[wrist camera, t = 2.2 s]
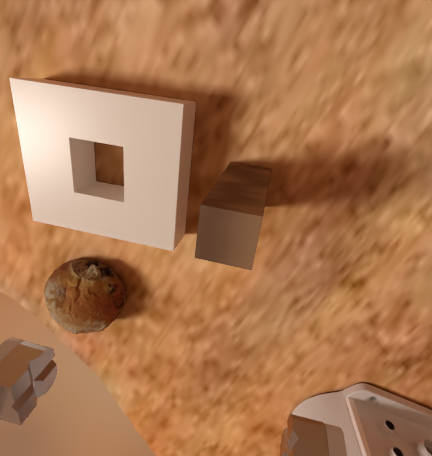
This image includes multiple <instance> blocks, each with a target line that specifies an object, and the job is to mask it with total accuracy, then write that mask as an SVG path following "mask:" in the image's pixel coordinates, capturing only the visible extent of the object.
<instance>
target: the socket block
mask: <svg viewBox="0 0 432 456" xmlns="http://www.w3.org/2000/svg"><path fill="white" fill-rule="evenodd" d="M10 84H11V90H12V96H13V102H14V108H15V114H16V120H17V126H18V132H19V138H20V144H21V150H22V156H23V162H24V168H25V174H26V180H27V186H28V192H29V198H30V204H31V210H32V216H33V221H38V222H42V223H47V224H51V225H56V226H61V227H65V228H70V229H74V230H79V231H83V232H88V233H93V234H97V235H102V236H106V237H111V238H116V239H120V240H125V241H129V242H134V243H138V244H143V245H148V246H152V247H157V248H161V249H166V250H170V251H174V250H175V248H176V247H177V245H178V244H179V242H180V241H181V239H182V238H183V236H184V235H185V229H186V217H187V205H188V193H189V182H190V170H191V158H192V147H193V135H194V123H195V111H196V102H195V101H188V100H181V99H175V98H168V97H161V96H154V95H148V94H141V93H134V92H128V91H121V90H114V89H108V88H101V87H94V86H87V85H81V84H74V83H67V82H61V81H54V80H47V79H34V78H10ZM94 142H99V143H104V144H110V145H116V146H122V147H123V151H124V186H119V185H114V184H109V183H104V182H98V181H96V168H95V151H94Z"/></svg>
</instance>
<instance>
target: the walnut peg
mask: <svg viewBox="0 0 432 456" xmlns="http://www.w3.org/2000/svg"><path fill="white" fill-rule="evenodd" d="M270 173H271V169H268V168H263V167H257V166H251V165H245V164H240V163H234V162H230V164H229V165H228V167H227V168H226V169H225V171H224V172H223V174H222V175H221V176H220V178H219V179H218V181H217V182H216V183H215V185H214V186H213V188H212V189H211V190H210V192H209V193H208V195H207V196H206V197H205V199H204V200H203V202H202V203H201V204H200V213H199V222H198V232H197V241H196V251H195V258H198V259H203V260H208V261H212V262H217V263H221V264H226V265H230V266H235V267H240V268H244V269H249V270H252V266H253V262H254V257H255V252H256V247H257V243H258V238H259V233H260V228H261V224H262V219H263V214H264V208H265V202H266V196H267V190H268V185H269V179H270Z"/></svg>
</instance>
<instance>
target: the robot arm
mask: <svg viewBox="0 0 432 456" xmlns="http://www.w3.org/2000/svg"><path fill="white" fill-rule="evenodd" d="M54 356H55V353H54V349H51V348H48V347H45V346H41V345H38V344H34V343H31V342H27V341H24V340H21V339H17V338H14V337H11V338H10V339H7V340H5V341H4V342H3V343H2V344H1V345H0V419H1V420H4V421H8V422H11V423H15V424H19V425H21V424H22V423H23V422H24V421H25V419H26V418H27V417H28V416H29V414H30V413H31V412H32V410H33V409H34V408H35V407H36V404H37V398H38V397H40V396H42V395H44V394H46V392H47V391H48V390H49V388H50V387H51V386H52V384H53V382H54V380H55V378H56V375H57V365H56V363H55V362H54V361H53V360H52V359H53V357H54ZM280 456H432V410H430V409H428V408H426V407H423V406H421V405H418V404H416V403H413V402H411V401H408V400H406V399H403V398H401V397H399V396H396V395H394V394H391V393H389V392H386V391H384V390H381V389H379V388H376V387H374V386H371V385H369V384H365V383H359V384H356V385H353V386H351V387H349V388H346V389H344V390H343V391H339V392H333V393H326V394H321V395H317V396H314V397H311V398H309V399H307V400H305V401H303V402H302V403H300V404H299V405H298V406H297V407H296V408H295V410H294V411H293V413H292V414H290V415H289V418H288V420H287V428H286V429H284V431H283V435H282V439H281V445H280Z"/></svg>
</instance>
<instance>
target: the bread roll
mask: <svg viewBox="0 0 432 456" xmlns="http://www.w3.org/2000/svg"><path fill="white" fill-rule="evenodd" d="M44 295H45V301H46V304H47V307H48V310H49V312H50V314H51V316H52V318H53V319H54V320H55V321H56V322H57V323H58V324H59V325H60V326H62V327H63V328H64V329H66V330H67V331H70V332H72V333H74V334H78V333H90V332H98V331H102V330H104V329H105V328H106V327H108V326H109V324H111V323H112V322H113V321H114V320H115V318H116V317H117V315H118V314H119V313H120V311H121V309H122V308H123V306H124V304H125V302H126V290H125V287H124V284H123V282H122V280H121V279H120V278H119V277H118V276H117V275H116V274H115V273H114V271H113V270H112V269H111V268H110V267H109V266H107V265H105V264H104V263H100V262H98V261H91V260H86V259H81V260H70V261H68V262H66V263H64V264H62V265H61V266H60V267H59V268H57V269H56V270H55V271H54V272H53V274H52V275H51V276H50V277H49V279H48V281H47V283H46V286H45V290H44Z"/></svg>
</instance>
